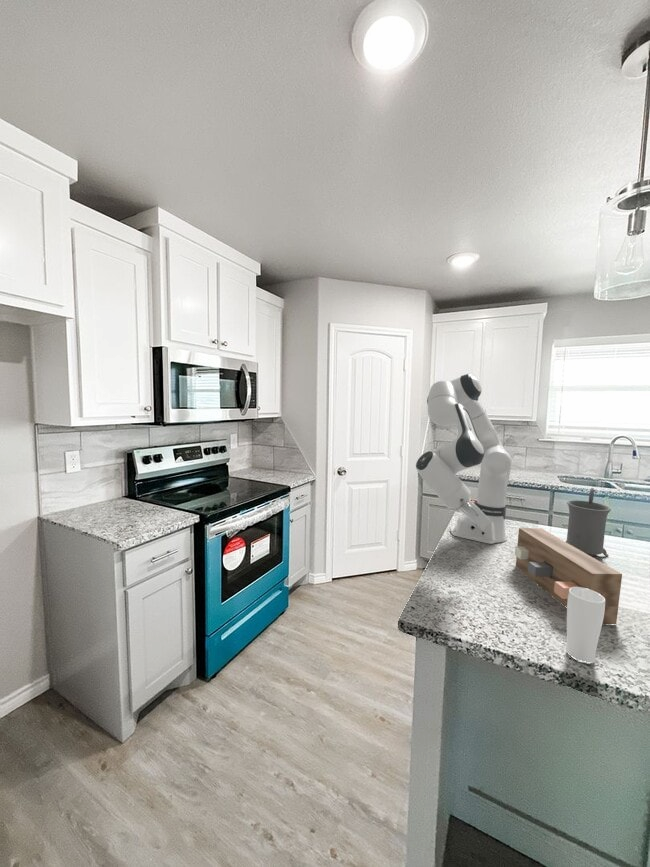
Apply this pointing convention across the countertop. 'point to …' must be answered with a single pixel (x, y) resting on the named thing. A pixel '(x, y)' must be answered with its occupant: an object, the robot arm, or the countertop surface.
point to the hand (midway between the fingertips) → (483, 526)
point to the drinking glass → (584, 622)
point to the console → (569, 568)
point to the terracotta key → (564, 588)
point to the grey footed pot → (587, 525)
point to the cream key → (521, 552)
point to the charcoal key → (540, 569)
